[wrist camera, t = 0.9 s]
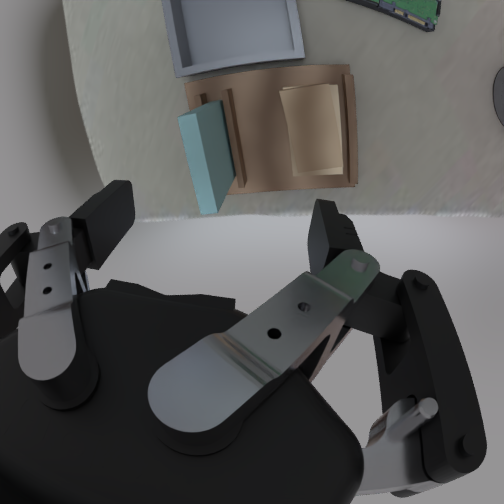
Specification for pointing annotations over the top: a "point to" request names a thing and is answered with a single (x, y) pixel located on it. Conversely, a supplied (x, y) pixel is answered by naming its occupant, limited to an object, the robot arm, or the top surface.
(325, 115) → the offcut upper
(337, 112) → the offcut lower
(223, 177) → the teal rectangular slab
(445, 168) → the top surface
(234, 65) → the tray
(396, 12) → the disk drive
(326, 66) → the rack
